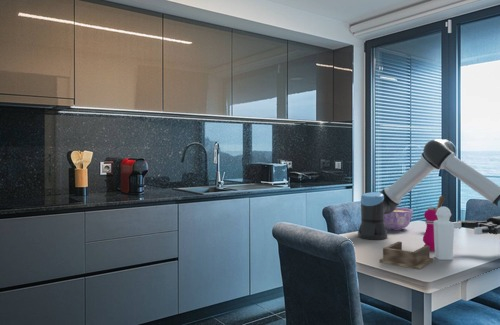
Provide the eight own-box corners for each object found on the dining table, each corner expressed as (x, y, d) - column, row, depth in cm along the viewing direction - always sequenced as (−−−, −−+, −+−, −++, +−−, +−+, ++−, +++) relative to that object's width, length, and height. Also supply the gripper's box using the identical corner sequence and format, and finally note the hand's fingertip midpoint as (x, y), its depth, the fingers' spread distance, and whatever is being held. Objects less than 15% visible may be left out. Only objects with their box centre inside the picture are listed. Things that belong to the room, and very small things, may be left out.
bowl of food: (406, 233, 219) (405, 212, 219) (371, 229, 232) (371, 209, 232) (417, 228, 235) (417, 208, 234) (384, 224, 248) (384, 206, 247)
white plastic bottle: (454, 260, 163) (454, 207, 163) (437, 259, 164) (437, 207, 164) (449, 256, 169) (449, 205, 169) (433, 256, 171) (433, 205, 170)
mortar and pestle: (430, 228, 233) (430, 195, 232) (446, 230, 227) (446, 195, 227) (426, 231, 223) (426, 196, 223) (442, 233, 218) (442, 197, 218)
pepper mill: (433, 252, 178) (432, 207, 177) (419, 248, 184) (419, 206, 184) (443, 250, 181) (443, 206, 181) (429, 246, 187) (429, 205, 187)
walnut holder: (379, 262, 162) (379, 247, 162) (395, 254, 174) (395, 241, 174) (419, 269, 151) (419, 253, 151) (433, 260, 163) (433, 246, 163)
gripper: (526, 239, 164) (487, 243, 158) (475, 228, 188) (439, 231, 182) (526, 221, 164) (487, 224, 158) (475, 213, 188) (439, 215, 181)
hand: (461, 228), depth 170 cm, fingers open, 13 cm apart
